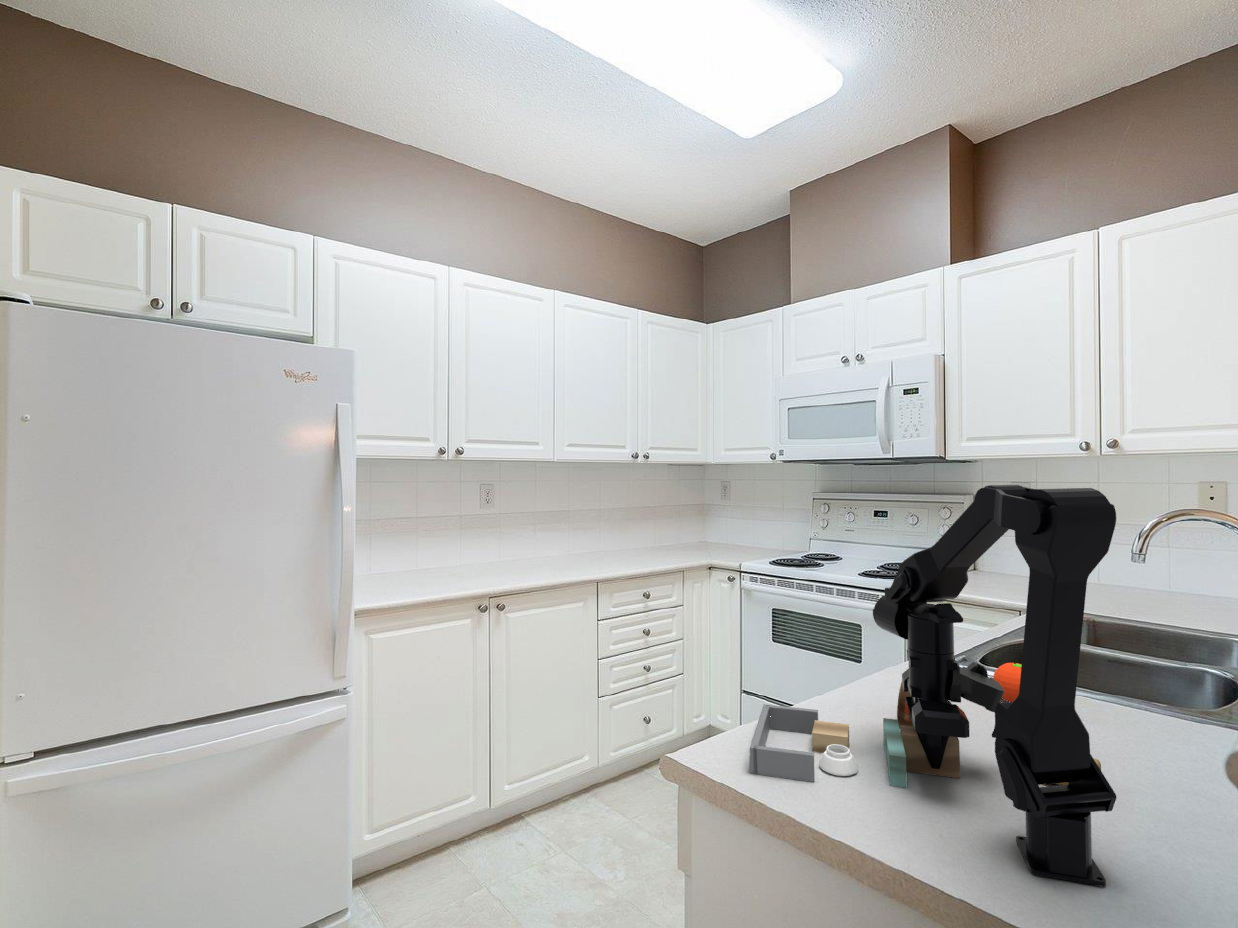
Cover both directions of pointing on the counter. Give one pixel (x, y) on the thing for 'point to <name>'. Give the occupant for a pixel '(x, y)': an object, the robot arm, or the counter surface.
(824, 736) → the light wooden cube
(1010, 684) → the clementine
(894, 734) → the brown and teal block
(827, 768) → the white jar
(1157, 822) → the counter surface
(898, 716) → the tin
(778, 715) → the grey u-shaped bracket
